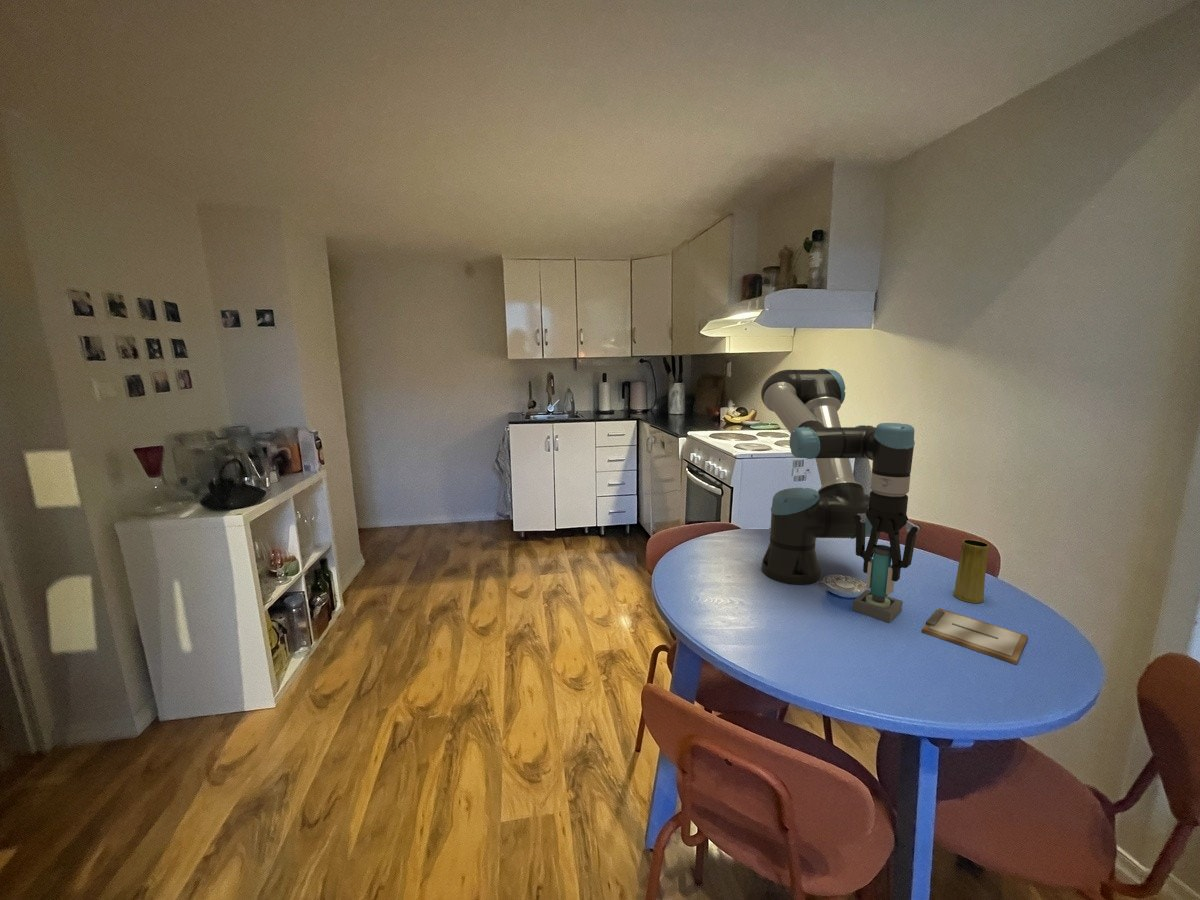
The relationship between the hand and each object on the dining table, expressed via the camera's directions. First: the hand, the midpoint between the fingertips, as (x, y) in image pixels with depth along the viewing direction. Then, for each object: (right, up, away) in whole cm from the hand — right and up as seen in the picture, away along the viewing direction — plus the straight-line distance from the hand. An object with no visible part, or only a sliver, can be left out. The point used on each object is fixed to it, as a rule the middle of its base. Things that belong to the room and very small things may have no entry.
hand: (879, 589), depth 116 cm
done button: (0, -5, +1) cm, 6 cm away
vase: (+26, -4, +7) cm, 27 cm away
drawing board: (+15, -7, -9) cm, 19 cm away
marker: (0, -3, 0) cm, 3 cm away
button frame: (0, -5, +1) cm, 5 cm away
